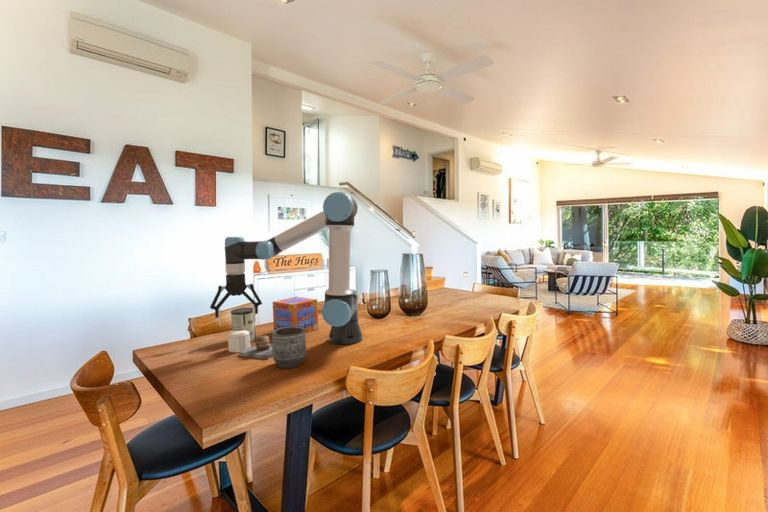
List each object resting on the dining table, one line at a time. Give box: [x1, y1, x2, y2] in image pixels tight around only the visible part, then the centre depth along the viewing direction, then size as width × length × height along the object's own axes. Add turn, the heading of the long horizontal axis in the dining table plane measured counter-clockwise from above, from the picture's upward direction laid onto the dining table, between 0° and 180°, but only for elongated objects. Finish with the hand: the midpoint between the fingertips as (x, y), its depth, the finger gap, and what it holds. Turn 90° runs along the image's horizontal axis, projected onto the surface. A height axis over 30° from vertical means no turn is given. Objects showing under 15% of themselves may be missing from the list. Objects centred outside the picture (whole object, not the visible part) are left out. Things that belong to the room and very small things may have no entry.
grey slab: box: [238, 335, 273, 360], centre depth 152 cm, size 14×12×6 cm
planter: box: [271, 327, 307, 369], centre depth 138 cm, size 12×12×13 cm
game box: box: [272, 296, 319, 334], centre depth 185 cm, size 16×16×16 cm
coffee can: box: [230, 307, 257, 342], centre depth 171 cm, size 10×10×14 cm
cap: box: [227, 330, 251, 353], centre depth 158 cm, size 8×8×7 cm
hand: (237, 323), depth 157 cm, fingers open, 13 cm apart
